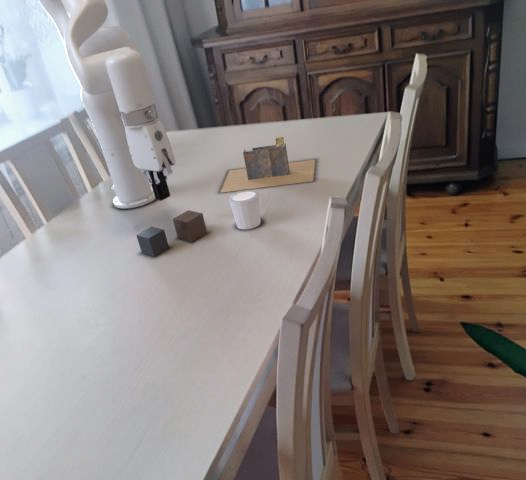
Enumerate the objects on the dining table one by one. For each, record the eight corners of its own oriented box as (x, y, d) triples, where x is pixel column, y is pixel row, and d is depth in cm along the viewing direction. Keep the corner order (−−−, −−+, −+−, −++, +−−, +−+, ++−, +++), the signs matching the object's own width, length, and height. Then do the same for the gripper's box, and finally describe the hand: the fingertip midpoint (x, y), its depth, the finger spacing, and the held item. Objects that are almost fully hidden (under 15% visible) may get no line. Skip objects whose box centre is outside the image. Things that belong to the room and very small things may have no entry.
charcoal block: (141, 253, 130) (135, 234, 128) (156, 244, 133) (151, 226, 130) (154, 256, 128) (148, 238, 125) (169, 247, 130) (164, 229, 127)
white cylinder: (260, 229, 130) (254, 200, 126) (231, 231, 132) (225, 203, 128) (266, 216, 135) (261, 188, 131) (238, 218, 137) (232, 190, 133)
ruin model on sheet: (315, 159, 161) (311, 124, 156) (313, 181, 148) (308, 143, 143) (229, 170, 166) (222, 136, 160) (220, 192, 153) (212, 156, 147)
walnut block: (177, 238, 134) (172, 218, 131) (193, 229, 136) (188, 210, 133) (192, 242, 131) (186, 222, 128) (207, 233, 133) (202, 213, 130)
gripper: (175, 111, 120) (196, 195, 130) (132, 110, 129) (155, 189, 139) (147, 122, 115) (172, 208, 126) (105, 120, 125) (131, 200, 135)
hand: (163, 198), depth 132 cm, fingers closed
